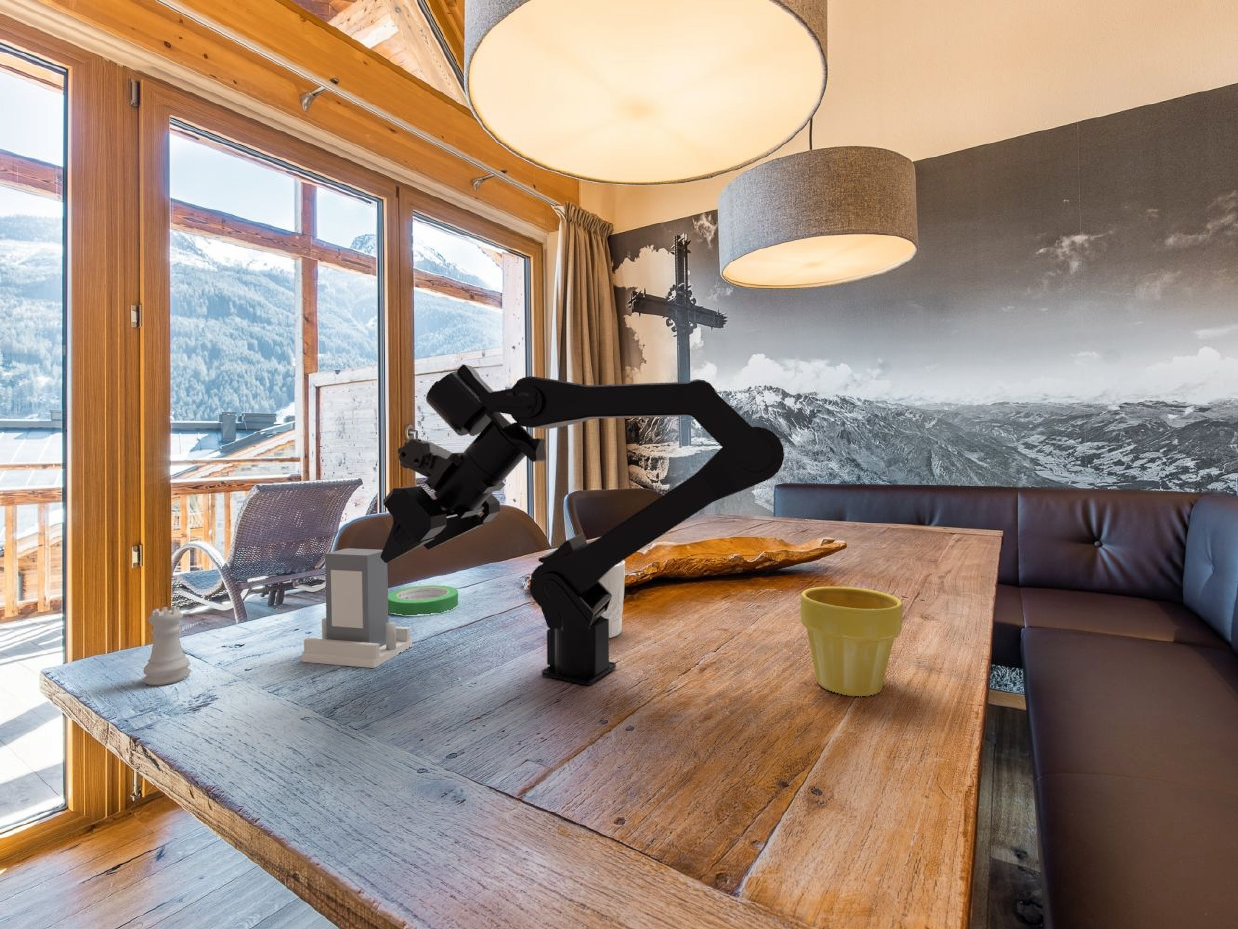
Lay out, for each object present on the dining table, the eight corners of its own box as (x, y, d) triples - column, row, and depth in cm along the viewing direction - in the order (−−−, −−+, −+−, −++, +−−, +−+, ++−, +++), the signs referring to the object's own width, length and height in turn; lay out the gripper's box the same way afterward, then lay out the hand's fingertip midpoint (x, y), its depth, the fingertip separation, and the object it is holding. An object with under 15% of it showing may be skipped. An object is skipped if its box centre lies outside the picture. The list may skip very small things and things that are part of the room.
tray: (413, 646, 80) (412, 614, 80) (376, 668, 72) (375, 633, 72) (344, 641, 82) (343, 610, 82) (300, 661, 75) (300, 627, 75)
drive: (388, 642, 79) (387, 550, 78) (369, 653, 75) (367, 555, 74) (348, 639, 80) (346, 548, 80) (326, 649, 76) (325, 553, 76)
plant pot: (897, 674, 70) (898, 589, 70) (906, 711, 60) (907, 612, 60) (802, 663, 73) (803, 582, 73) (797, 696, 64) (797, 603, 63)
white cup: (595, 621, 91) (594, 554, 91) (636, 631, 86) (636, 560, 86) (557, 633, 85) (557, 562, 85) (600, 645, 80) (599, 569, 80)
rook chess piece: (201, 674, 71) (199, 605, 71) (163, 688, 66) (160, 616, 66) (171, 670, 72) (169, 603, 72) (132, 684, 68) (130, 613, 67)
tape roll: (419, 622, 92) (418, 605, 92) (372, 612, 98) (372, 595, 98) (472, 606, 102) (472, 590, 101) (426, 597, 107) (426, 582, 107)
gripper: (476, 419, 83) (406, 500, 86) (396, 412, 65) (310, 515, 68) (532, 477, 81) (458, 557, 84) (466, 486, 63) (375, 588, 66)
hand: (406, 553), depth 75 cm, fingers open, 9 cm apart
